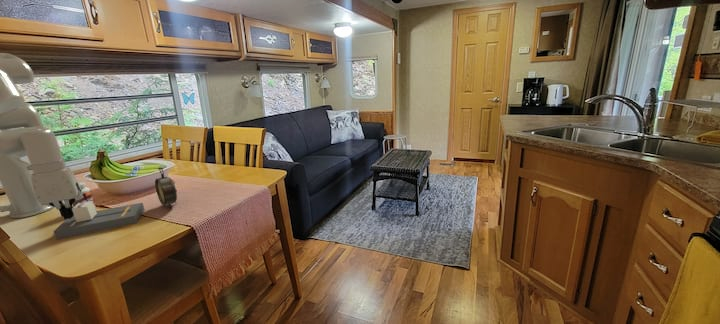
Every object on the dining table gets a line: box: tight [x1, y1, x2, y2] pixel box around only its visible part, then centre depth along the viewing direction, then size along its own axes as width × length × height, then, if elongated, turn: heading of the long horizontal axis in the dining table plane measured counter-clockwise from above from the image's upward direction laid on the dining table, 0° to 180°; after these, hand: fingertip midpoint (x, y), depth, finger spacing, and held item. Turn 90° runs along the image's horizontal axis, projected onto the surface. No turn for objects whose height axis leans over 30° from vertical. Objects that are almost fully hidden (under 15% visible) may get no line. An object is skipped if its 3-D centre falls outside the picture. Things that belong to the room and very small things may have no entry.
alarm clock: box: [154, 166, 178, 210], centre depth 115 cm, size 11×5×16 cm, turn 47°
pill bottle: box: [72, 181, 97, 208], centre depth 116 cm, size 6×6×11 cm
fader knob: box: [72, 200, 97, 222], centre depth 102 cm, size 4×5×6 cm
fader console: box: [52, 202, 145, 240], centre depth 105 cm, size 22×12×3 cm, turn 114°
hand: (69, 217), depth 101 cm, fingers closed
